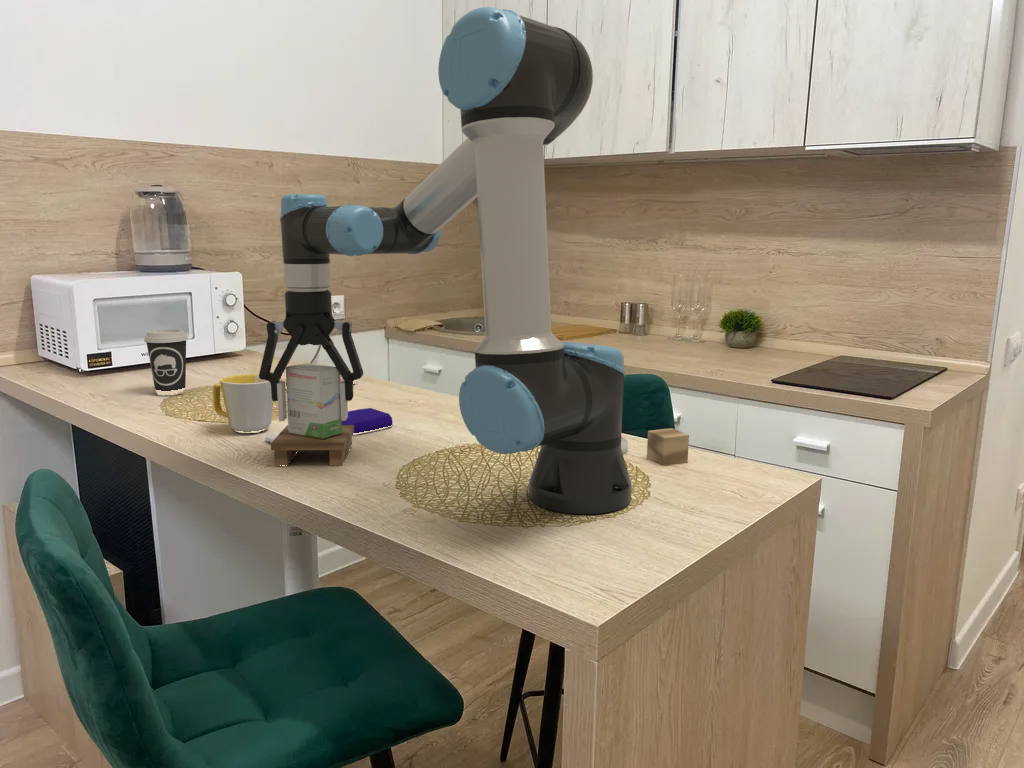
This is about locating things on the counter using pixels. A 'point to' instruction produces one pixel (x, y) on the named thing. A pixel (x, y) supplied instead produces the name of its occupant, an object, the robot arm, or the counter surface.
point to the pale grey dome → (624, 445)
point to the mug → (245, 402)
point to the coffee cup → (167, 358)
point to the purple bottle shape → (359, 421)
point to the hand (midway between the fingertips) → (313, 419)
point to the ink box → (313, 400)
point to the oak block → (667, 446)
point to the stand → (312, 445)
